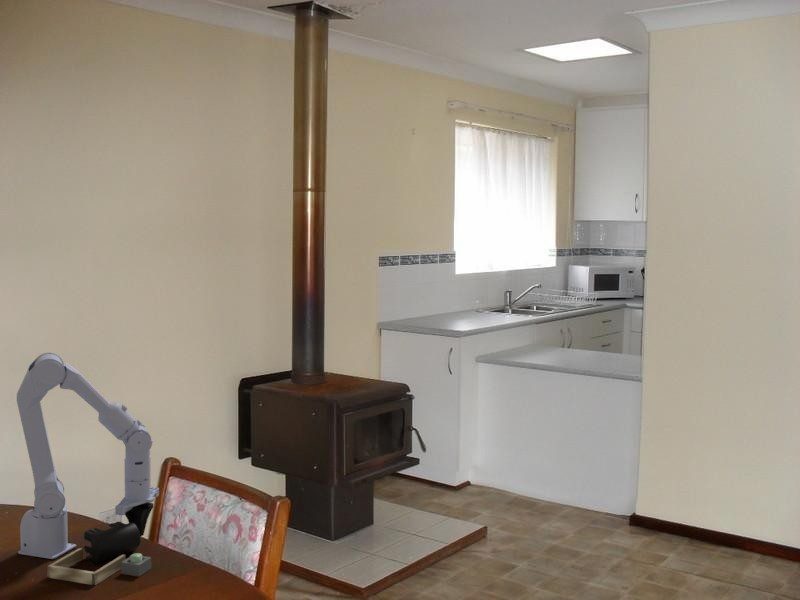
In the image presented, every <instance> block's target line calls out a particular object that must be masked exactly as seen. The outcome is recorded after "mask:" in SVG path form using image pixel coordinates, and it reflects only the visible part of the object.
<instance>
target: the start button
mask: <svg viewBox="0 0 800 600" xmlns="http://www.w3.org/2000/svg"><path fill="white" fill-rule="evenodd" d="M142 556H143V554H142V553H139V552H137V553H136V552H135V553H132V554H131V555H129V557H130V562H134V563H139V562H141V561H142Z"/></svg>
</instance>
